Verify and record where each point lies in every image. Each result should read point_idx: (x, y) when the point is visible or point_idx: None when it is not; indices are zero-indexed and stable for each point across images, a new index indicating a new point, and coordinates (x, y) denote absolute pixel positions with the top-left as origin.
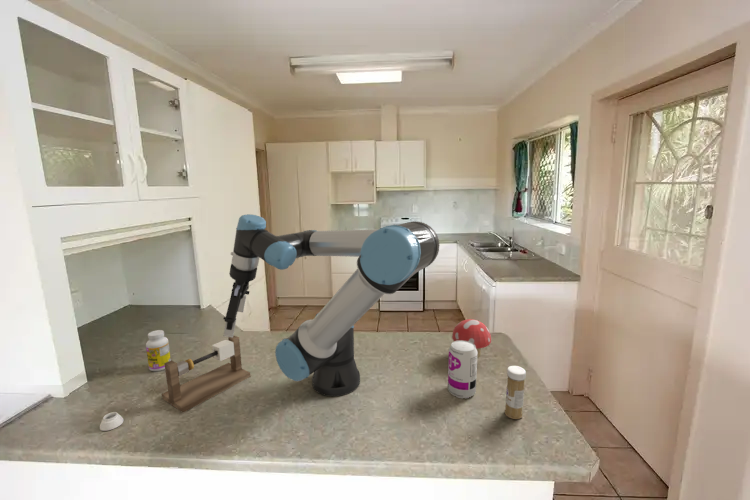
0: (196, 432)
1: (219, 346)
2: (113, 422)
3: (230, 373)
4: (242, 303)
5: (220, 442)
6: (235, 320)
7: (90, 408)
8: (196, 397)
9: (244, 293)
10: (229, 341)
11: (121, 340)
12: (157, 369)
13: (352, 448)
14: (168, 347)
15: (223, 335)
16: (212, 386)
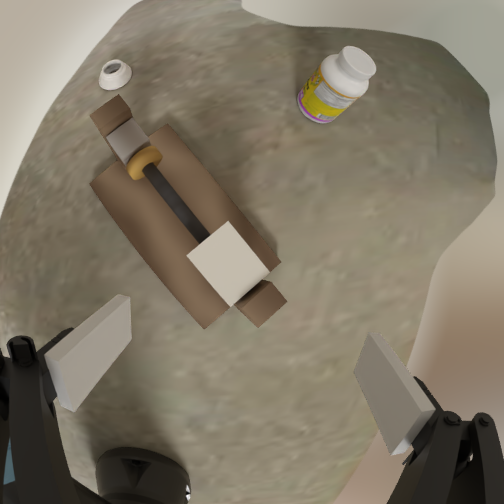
0: (30, 230)
1: (203, 254)
2: (101, 78)
3: None
4: (377, 401)
5: (3, 278)
6: (61, 402)
7: (188, 36)
8: (119, 204)
9: (416, 450)
10: (242, 289)
11: (412, 64)
12: (298, 100)
13: None
14: (339, 102)
15: (115, 296)
16: (158, 235)
